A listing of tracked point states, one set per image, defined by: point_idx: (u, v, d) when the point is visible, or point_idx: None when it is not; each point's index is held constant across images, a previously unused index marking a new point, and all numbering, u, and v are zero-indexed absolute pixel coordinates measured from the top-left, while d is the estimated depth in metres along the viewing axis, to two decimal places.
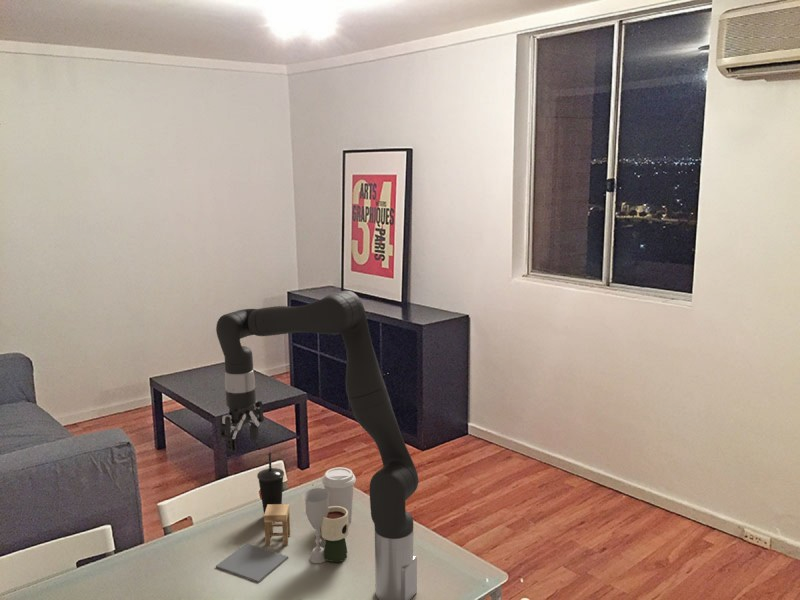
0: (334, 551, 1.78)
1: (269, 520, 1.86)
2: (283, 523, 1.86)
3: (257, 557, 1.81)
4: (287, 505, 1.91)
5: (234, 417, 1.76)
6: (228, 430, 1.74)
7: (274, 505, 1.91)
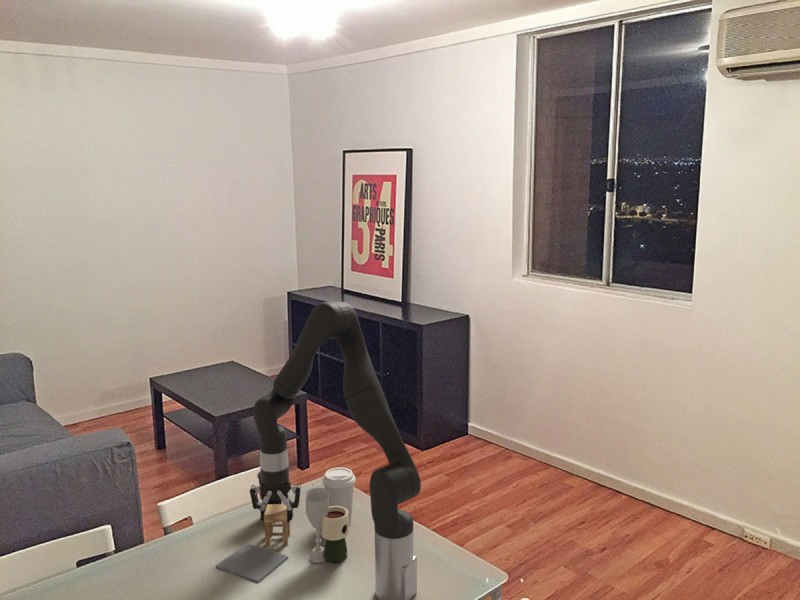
0: (334, 551, 1.78)
1: (269, 520, 1.86)
2: (283, 523, 1.86)
3: (257, 557, 1.81)
4: None
5: None
6: None
7: (274, 505, 1.91)
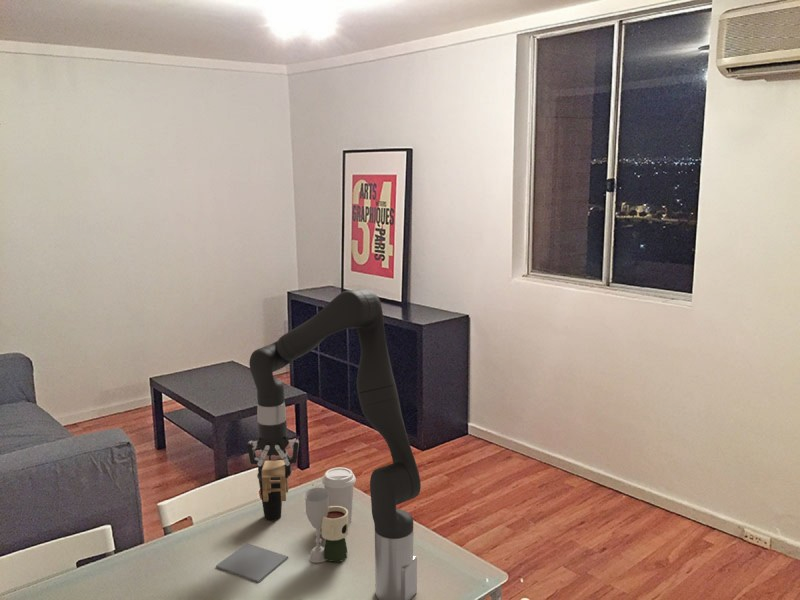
0: (334, 551, 1.78)
1: (267, 475, 1.83)
2: (281, 478, 1.83)
3: (257, 557, 1.81)
4: None
5: None
6: None
7: (272, 461, 1.88)
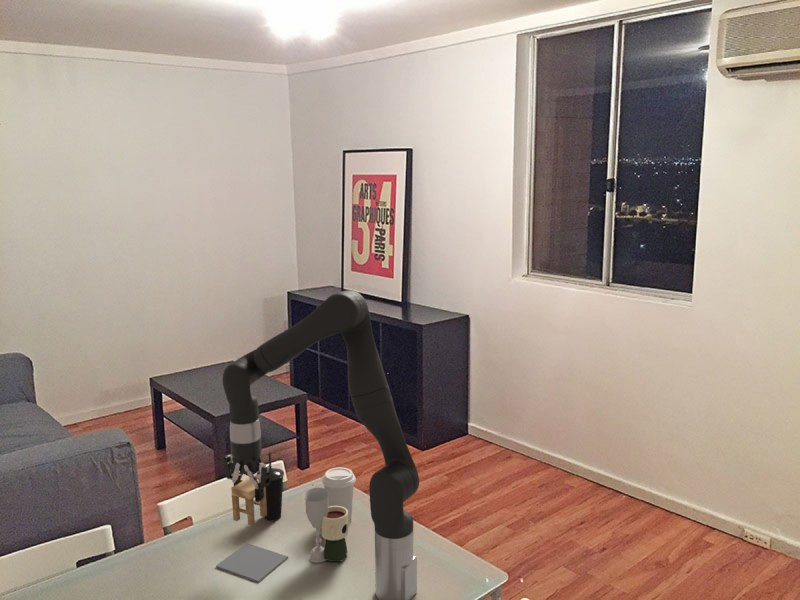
0: (334, 551, 1.78)
1: (235, 493, 1.74)
2: (247, 501, 1.72)
3: (257, 557, 1.81)
4: None
5: None
6: None
7: None
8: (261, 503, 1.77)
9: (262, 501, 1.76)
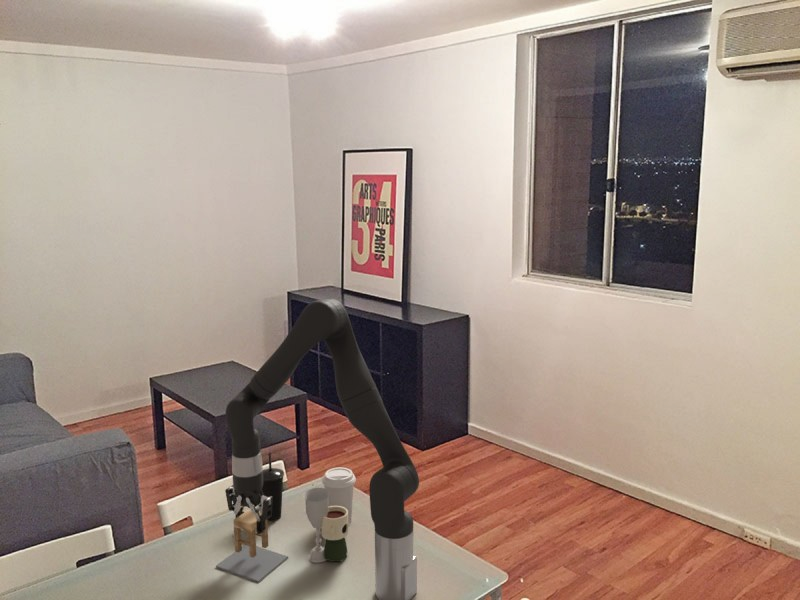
0: (334, 551, 1.78)
1: (237, 525, 1.76)
2: (249, 533, 1.74)
3: (257, 557, 1.81)
4: None
5: None
6: None
7: None
8: (263, 534, 1.79)
9: (264, 532, 1.78)
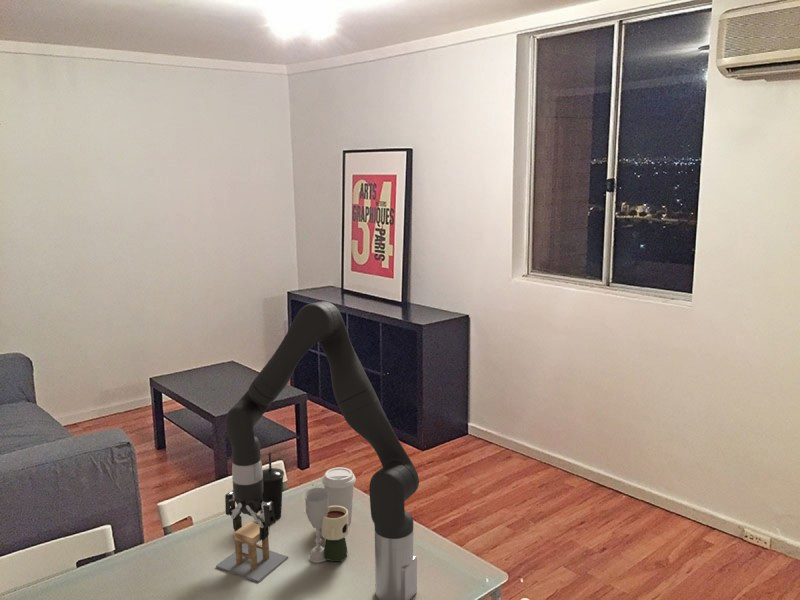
0: (334, 550, 1.79)
1: (238, 538, 1.76)
2: (250, 546, 1.75)
3: (257, 557, 1.81)
4: None
5: None
6: None
7: (254, 524, 1.80)
8: (263, 547, 1.79)
9: (264, 545, 1.79)
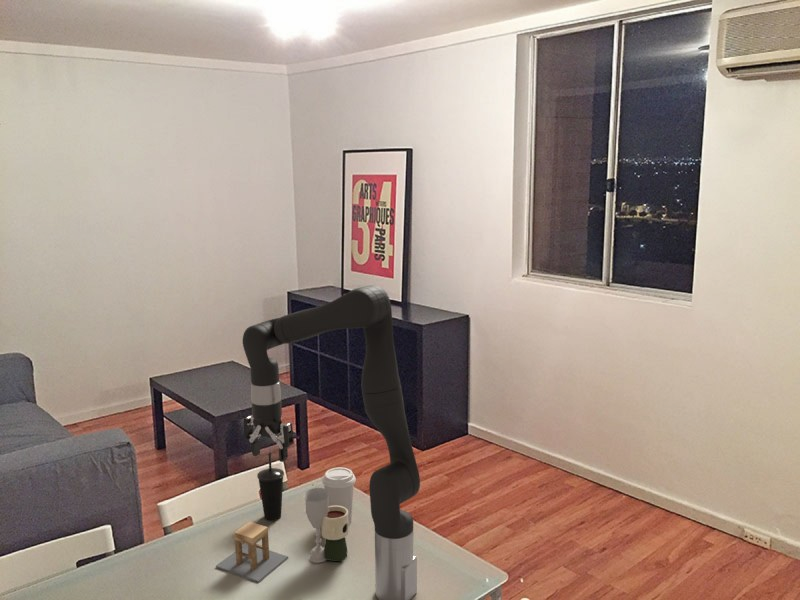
0: (335, 550, 1.79)
1: (238, 538, 1.76)
2: (250, 546, 1.75)
3: (257, 557, 1.81)
4: (264, 528, 1.78)
5: None
6: None
7: (254, 524, 1.80)
8: (263, 547, 1.79)
9: (264, 545, 1.79)
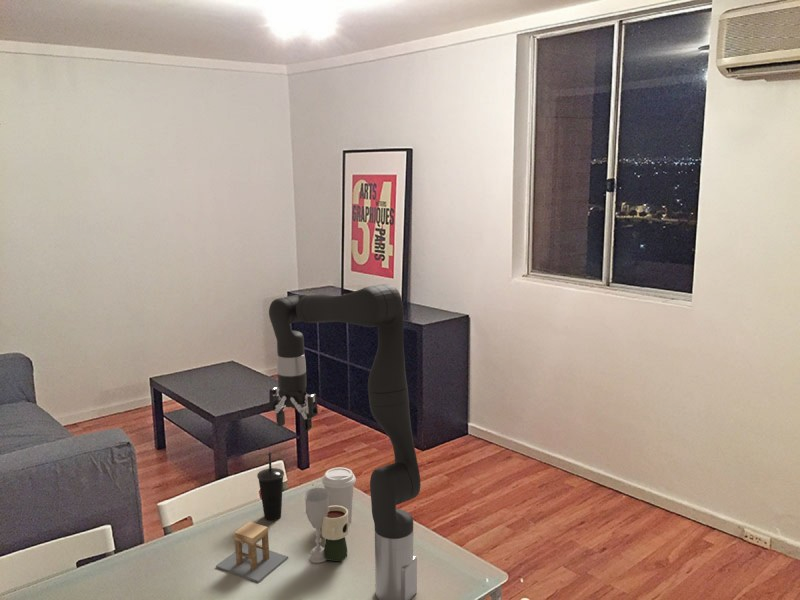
0: (335, 550, 1.79)
1: (238, 538, 1.76)
2: (250, 546, 1.75)
3: (257, 557, 1.81)
4: (264, 528, 1.78)
5: None
6: None
7: (254, 524, 1.80)
8: (263, 547, 1.79)
9: (264, 545, 1.79)
